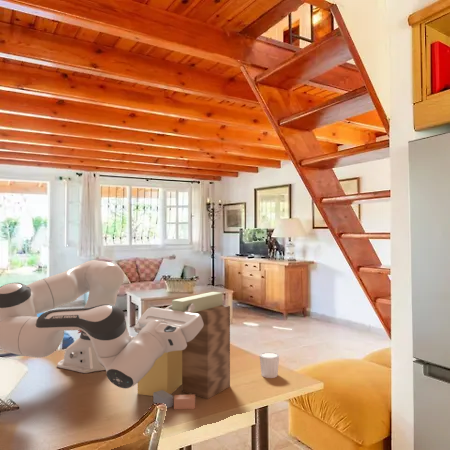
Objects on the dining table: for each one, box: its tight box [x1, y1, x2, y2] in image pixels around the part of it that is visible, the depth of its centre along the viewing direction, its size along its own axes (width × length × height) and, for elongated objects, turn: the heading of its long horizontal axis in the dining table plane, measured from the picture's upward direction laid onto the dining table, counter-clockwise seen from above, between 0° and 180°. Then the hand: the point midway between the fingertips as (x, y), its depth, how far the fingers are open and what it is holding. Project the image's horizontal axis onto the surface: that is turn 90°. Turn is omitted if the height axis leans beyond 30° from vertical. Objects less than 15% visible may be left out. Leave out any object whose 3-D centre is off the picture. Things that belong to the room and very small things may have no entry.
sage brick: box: [171, 291, 224, 313], centre depth 127 cm, size 20×4×4 cm, turn 145°
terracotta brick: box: [173, 394, 196, 410], centre depth 117 cm, size 6×3×3 cm, turn 94°
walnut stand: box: [181, 304, 231, 400], centre depth 130 cm, size 12×10×26 cm
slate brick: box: [152, 390, 174, 409], centre depth 119 cm, size 6×3×3 cm, turn 41°
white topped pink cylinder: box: [259, 352, 280, 379], centre depth 142 cm, size 7×7×7 cm
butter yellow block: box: [137, 350, 182, 397], centre depth 130 cm, size 10×12×16 cm
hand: (185, 304), depth 122 cm, fingers closed on sage brick, 4 cm apart
